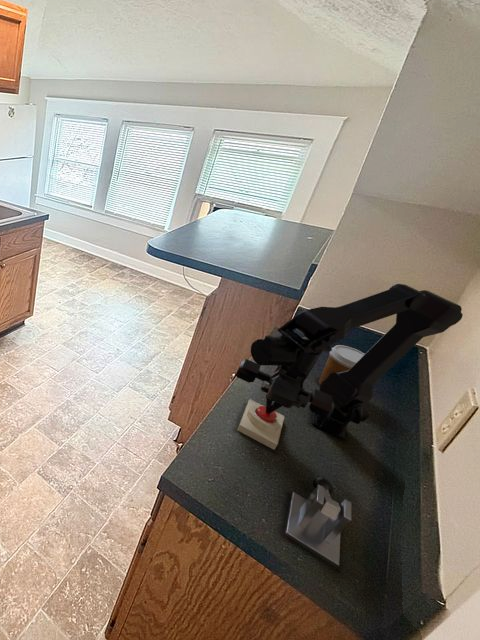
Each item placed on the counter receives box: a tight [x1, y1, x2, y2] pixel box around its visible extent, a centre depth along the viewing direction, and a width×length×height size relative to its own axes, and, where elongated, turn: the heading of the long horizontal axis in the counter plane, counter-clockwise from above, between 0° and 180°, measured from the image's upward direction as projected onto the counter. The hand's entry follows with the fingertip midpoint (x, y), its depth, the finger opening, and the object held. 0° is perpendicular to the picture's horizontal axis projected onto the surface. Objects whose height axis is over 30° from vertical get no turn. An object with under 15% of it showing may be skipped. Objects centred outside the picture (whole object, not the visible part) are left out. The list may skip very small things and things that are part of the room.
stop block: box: [237, 398, 285, 451], centre depth 94 cm, size 12×8×4 cm, turn 139°
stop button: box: [256, 405, 277, 423], centre depth 93 cm, size 4×4×2 cm
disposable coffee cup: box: [318, 344, 366, 386], centre depth 109 cm, size 10×10×12 cm
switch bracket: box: [284, 485, 353, 569], centre depth 71 cm, size 11×8×9 cm
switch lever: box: [312, 476, 341, 520], centre depth 74 cm, size 13×3×3 cm, turn 140°
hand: (267, 412), depth 93 cm, fingers closed, pressing on stop button
